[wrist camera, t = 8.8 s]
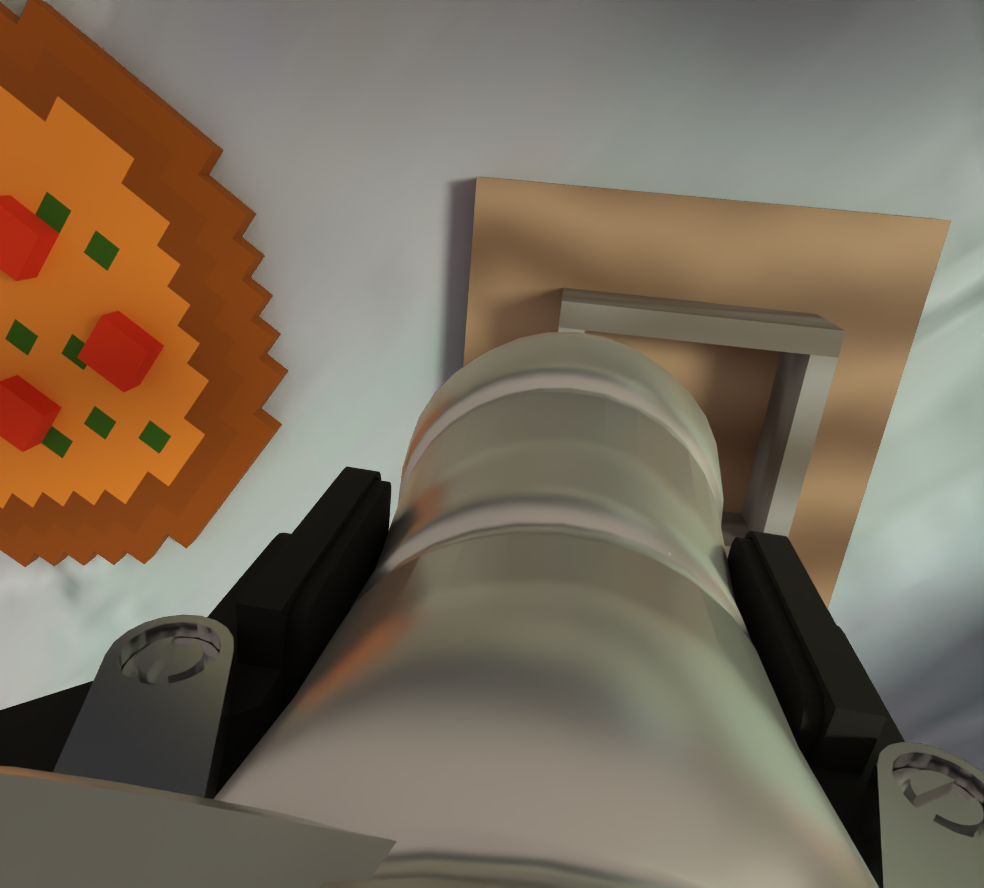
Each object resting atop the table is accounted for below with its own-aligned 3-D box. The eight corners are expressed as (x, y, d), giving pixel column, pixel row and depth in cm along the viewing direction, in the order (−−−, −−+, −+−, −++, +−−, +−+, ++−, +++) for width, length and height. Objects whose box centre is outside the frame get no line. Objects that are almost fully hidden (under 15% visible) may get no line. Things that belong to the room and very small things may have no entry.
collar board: (480, 176, 35) (463, 177, 29) (935, 218, 33) (1000, 226, 28) (452, 554, 43) (436, 606, 38) (815, 604, 41) (849, 664, 36)
